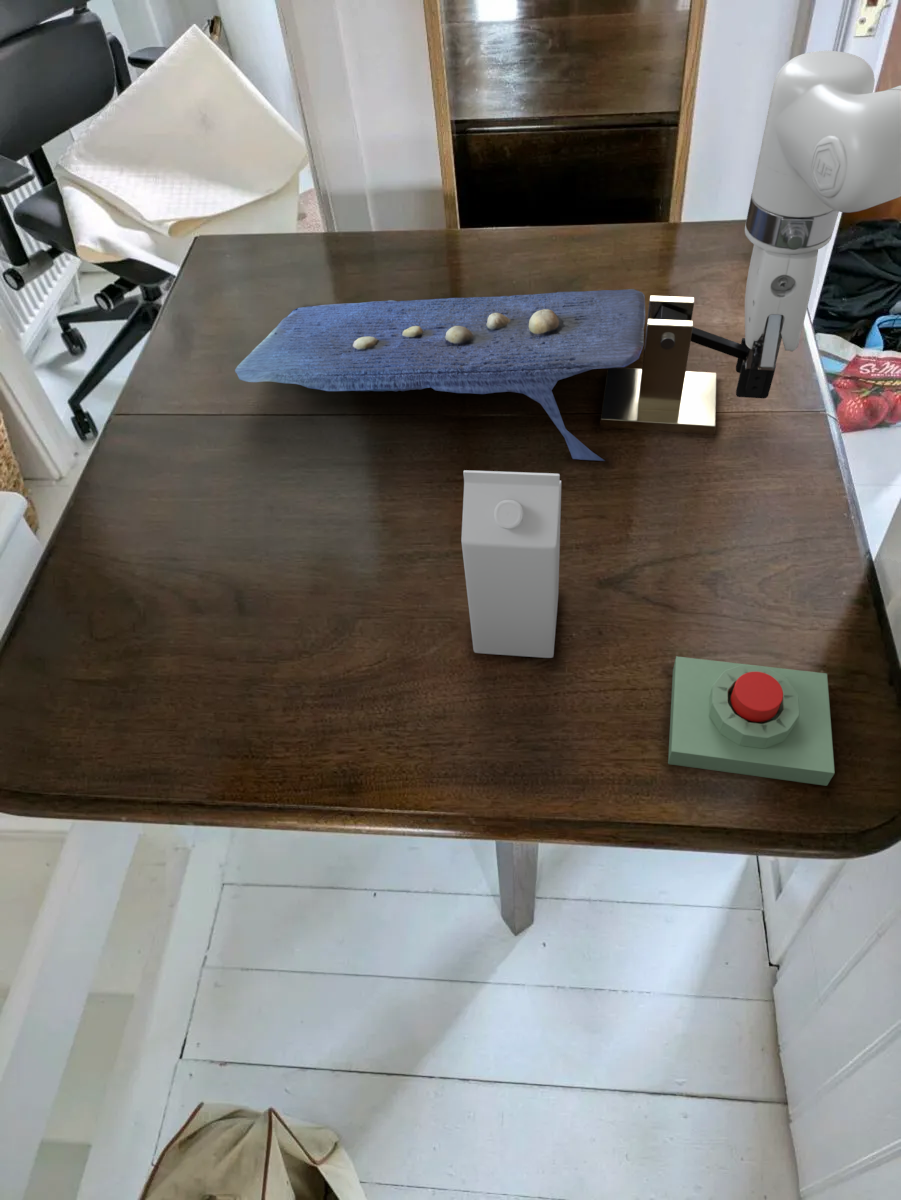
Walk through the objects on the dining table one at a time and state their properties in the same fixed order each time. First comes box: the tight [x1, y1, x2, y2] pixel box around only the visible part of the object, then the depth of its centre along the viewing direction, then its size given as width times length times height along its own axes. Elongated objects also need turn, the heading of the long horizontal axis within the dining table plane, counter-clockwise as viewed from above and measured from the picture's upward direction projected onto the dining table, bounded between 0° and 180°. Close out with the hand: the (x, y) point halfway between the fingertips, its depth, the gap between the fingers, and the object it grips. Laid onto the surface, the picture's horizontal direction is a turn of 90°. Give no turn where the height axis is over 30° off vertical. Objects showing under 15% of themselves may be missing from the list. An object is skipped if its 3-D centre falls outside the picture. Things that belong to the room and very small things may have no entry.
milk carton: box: [460, 469, 562, 659], centre depth 70 cm, size 7×7×19 cm
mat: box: [234, 288, 646, 462], centre depth 100 cm, size 45×27×12 cm, turn 82°
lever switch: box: [655, 306, 762, 362], centre depth 87 cm, size 13×3×3 cm, turn 79°
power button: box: [731, 672, 783, 722], centre depth 66 cm, size 4×4×2 cm
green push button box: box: [667, 655, 835, 786], centre depth 68 cm, size 12×9×4 cm
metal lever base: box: [599, 295, 718, 435], centre depth 90 cm, size 12×9×12 cm
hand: (751, 382), depth 90 cm, fingers closed on lever switch, 3 cm apart
